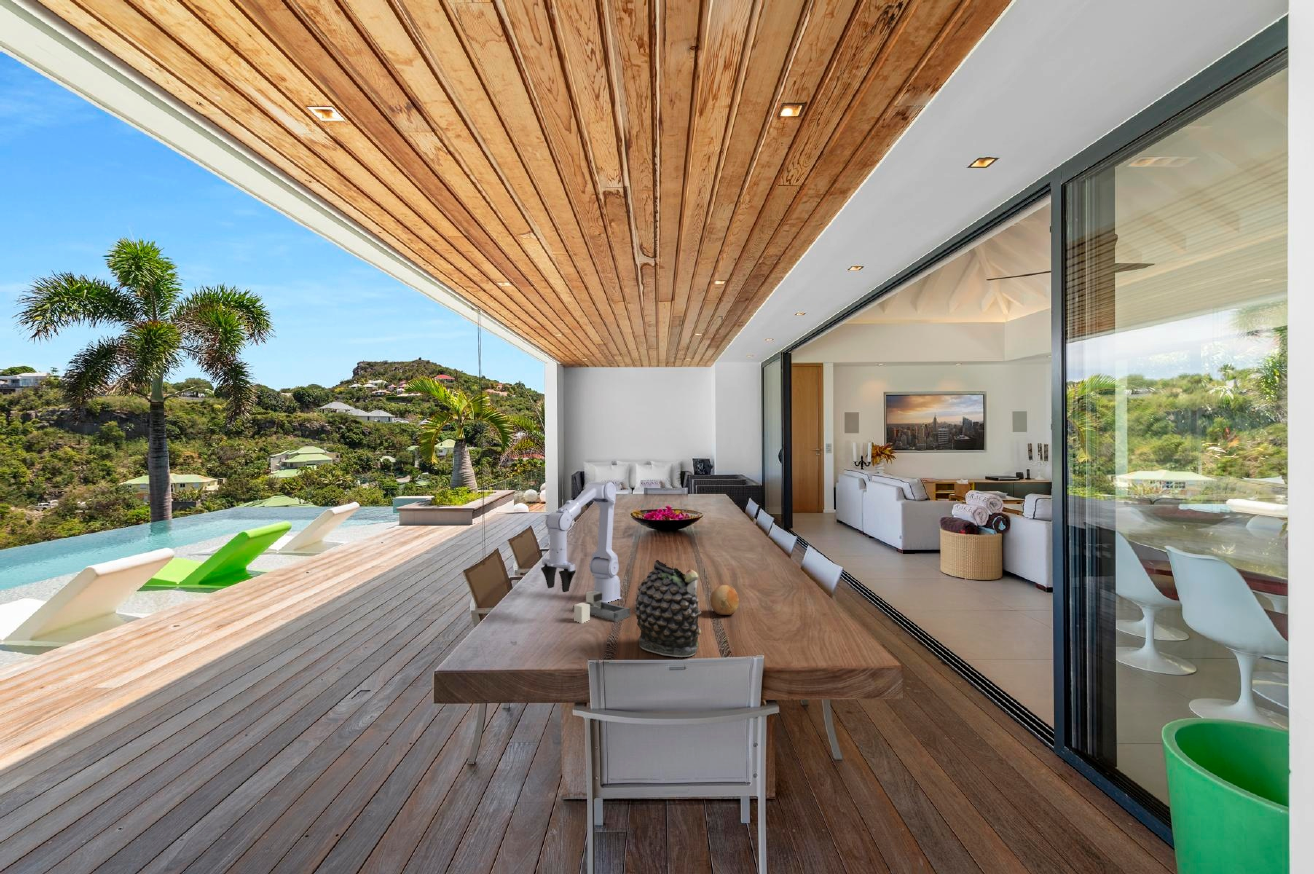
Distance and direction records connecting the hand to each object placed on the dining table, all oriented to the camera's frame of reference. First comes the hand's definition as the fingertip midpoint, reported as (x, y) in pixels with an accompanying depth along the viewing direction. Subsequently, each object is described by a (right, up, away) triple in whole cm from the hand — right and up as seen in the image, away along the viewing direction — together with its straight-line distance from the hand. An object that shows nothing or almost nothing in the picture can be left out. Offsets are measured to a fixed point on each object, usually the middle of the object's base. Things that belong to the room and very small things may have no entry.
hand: (558, 589), depth 196 cm
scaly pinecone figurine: (+36, -10, -28) cm, 47 cm away
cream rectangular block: (+8, -10, -2) cm, 13 cm away
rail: (+15, -10, +5) cm, 19 cm away
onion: (+56, -10, +5) cm, 57 cm away
